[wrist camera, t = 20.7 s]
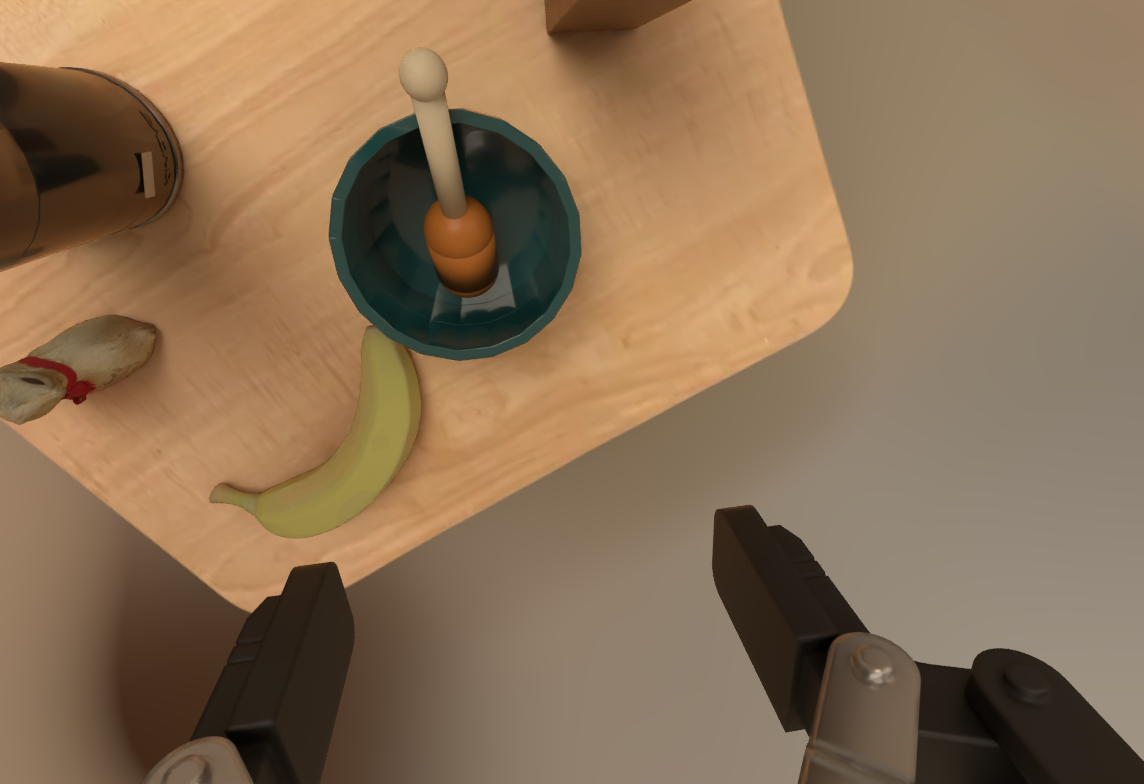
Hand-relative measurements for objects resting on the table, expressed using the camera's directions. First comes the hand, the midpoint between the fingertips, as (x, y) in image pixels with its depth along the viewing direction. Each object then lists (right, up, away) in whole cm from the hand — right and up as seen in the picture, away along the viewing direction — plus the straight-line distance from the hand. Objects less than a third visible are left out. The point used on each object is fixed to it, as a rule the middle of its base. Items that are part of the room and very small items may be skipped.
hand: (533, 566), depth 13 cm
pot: (-7, +16, +30) cm, 35 cm away
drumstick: (-6, +13, +22) cm, 26 cm away
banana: (-20, 0, +36) cm, 41 cm away
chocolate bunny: (-33, +7, +31) cm, 46 cm away
